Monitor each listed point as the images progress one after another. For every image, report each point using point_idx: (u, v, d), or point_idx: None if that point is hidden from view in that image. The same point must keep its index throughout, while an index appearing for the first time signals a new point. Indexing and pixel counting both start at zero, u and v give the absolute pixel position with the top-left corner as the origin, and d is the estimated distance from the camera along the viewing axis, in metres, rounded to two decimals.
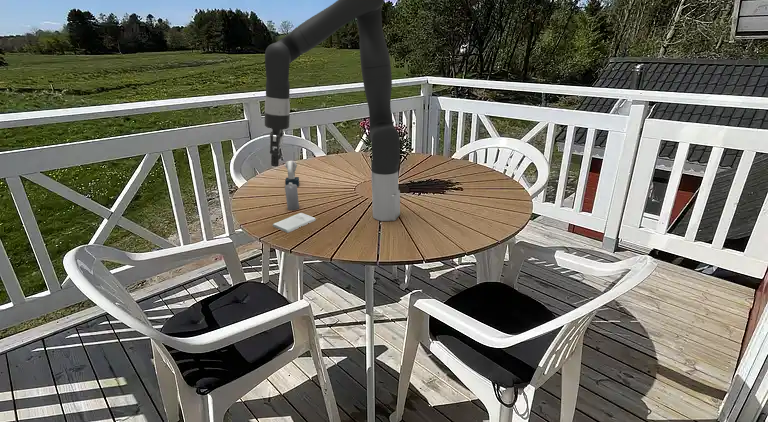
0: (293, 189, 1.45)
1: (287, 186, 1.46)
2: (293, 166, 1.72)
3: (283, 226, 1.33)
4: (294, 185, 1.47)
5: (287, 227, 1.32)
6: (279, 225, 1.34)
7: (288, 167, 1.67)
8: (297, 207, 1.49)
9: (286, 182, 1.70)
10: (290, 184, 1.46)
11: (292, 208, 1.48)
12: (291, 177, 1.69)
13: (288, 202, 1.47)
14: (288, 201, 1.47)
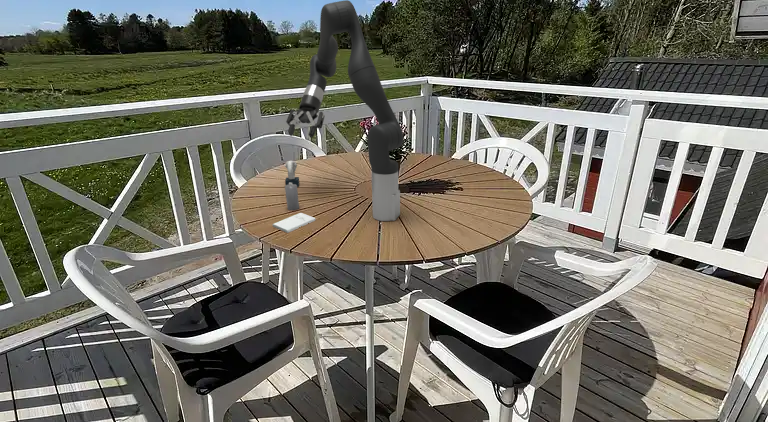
0: (293, 189, 1.45)
1: (287, 186, 1.46)
2: (293, 166, 1.72)
3: (283, 226, 1.33)
4: (294, 185, 1.47)
5: (287, 227, 1.32)
6: (279, 225, 1.34)
7: (288, 167, 1.67)
8: (297, 207, 1.49)
9: (286, 182, 1.70)
10: (290, 184, 1.46)
11: (292, 208, 1.48)
12: (291, 177, 1.69)
13: (288, 202, 1.47)
14: (288, 201, 1.47)
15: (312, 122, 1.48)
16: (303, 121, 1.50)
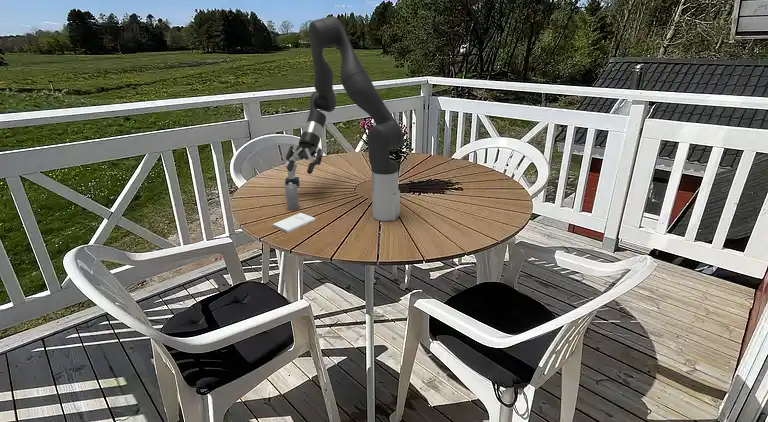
0: (293, 189, 1.45)
1: (287, 186, 1.46)
2: (293, 166, 1.72)
3: (283, 226, 1.33)
4: (294, 185, 1.47)
5: (286, 227, 1.32)
6: (279, 225, 1.34)
7: None
8: (297, 207, 1.49)
9: (286, 182, 1.70)
10: (290, 184, 1.46)
11: (292, 208, 1.48)
12: (291, 177, 1.69)
13: (288, 202, 1.47)
14: (288, 201, 1.47)
15: (311, 159, 1.50)
16: (302, 157, 1.53)
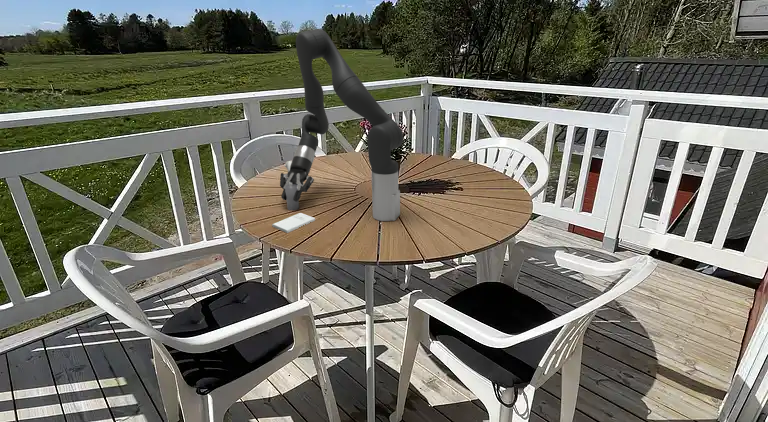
0: (293, 189, 1.45)
1: (287, 186, 1.46)
2: None
3: (283, 226, 1.33)
4: (294, 185, 1.47)
5: (286, 227, 1.32)
6: (279, 225, 1.34)
7: (288, 167, 1.67)
8: (297, 207, 1.49)
9: None
10: (290, 184, 1.46)
11: (292, 208, 1.48)
12: None
13: (288, 202, 1.47)
14: (288, 201, 1.47)
15: (298, 186, 1.47)
16: None
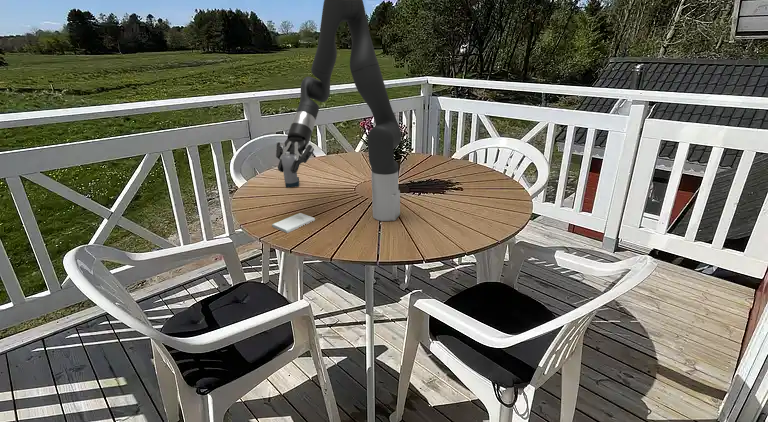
0: (290, 159, 1.29)
1: (284, 156, 1.30)
2: None
3: (282, 226, 1.33)
4: (292, 155, 1.31)
5: (286, 227, 1.32)
6: (278, 225, 1.34)
7: None
8: (295, 180, 1.33)
9: None
10: (287, 153, 1.30)
11: (290, 181, 1.32)
12: None
13: (285, 174, 1.31)
14: (286, 173, 1.31)
15: (296, 156, 1.31)
16: None
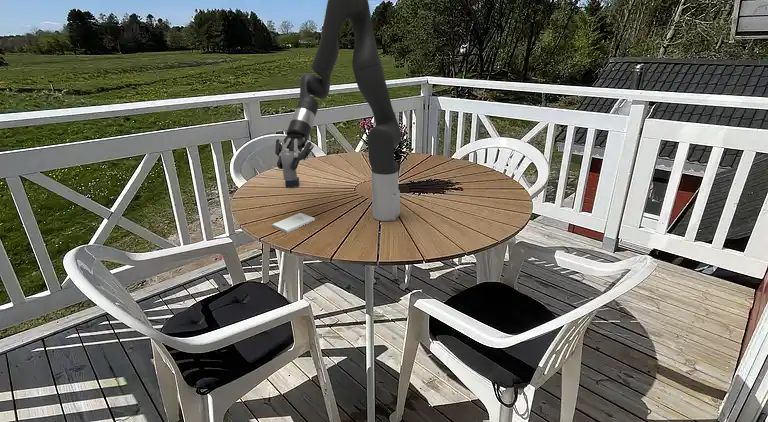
0: (289, 156, 1.28)
1: (283, 153, 1.29)
2: None
3: (282, 226, 1.33)
4: (291, 152, 1.30)
5: (286, 227, 1.32)
6: (278, 225, 1.34)
7: None
8: (295, 177, 1.32)
9: (286, 182, 1.70)
10: (286, 150, 1.29)
11: (289, 178, 1.31)
12: None
13: (284, 171, 1.30)
14: (285, 170, 1.30)
15: (296, 153, 1.29)
16: None
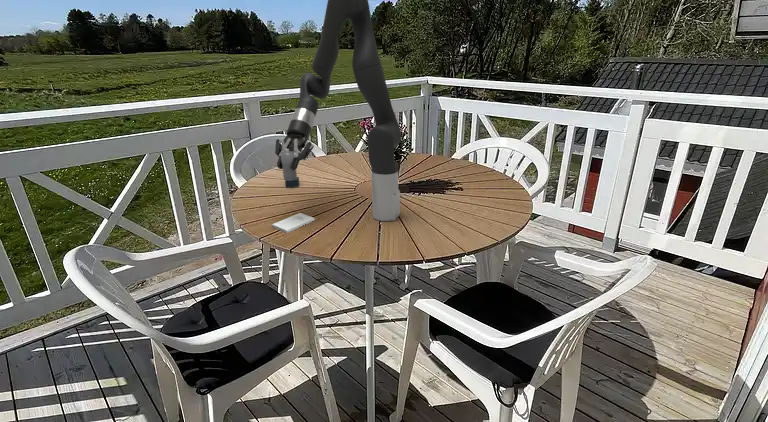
0: (289, 156, 1.28)
1: (283, 153, 1.29)
2: None
3: (282, 226, 1.33)
4: (291, 152, 1.30)
5: (286, 227, 1.32)
6: (278, 225, 1.34)
7: None
8: (295, 177, 1.32)
9: (286, 182, 1.70)
10: (286, 150, 1.29)
11: (289, 178, 1.31)
12: None
13: (284, 171, 1.30)
14: (285, 170, 1.30)
15: (296, 153, 1.29)
16: None
